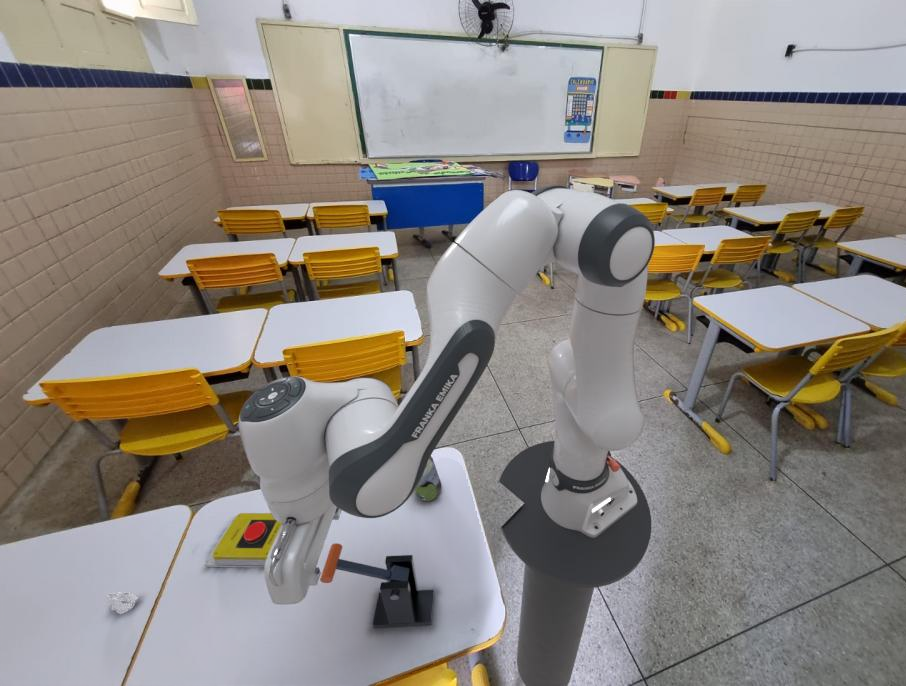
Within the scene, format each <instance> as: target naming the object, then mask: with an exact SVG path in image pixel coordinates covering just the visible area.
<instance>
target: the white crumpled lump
mask: <svg viewBox="0 0 906 686" xmlns="http://www.w3.org/2000/svg"><path fill="white" fill-rule="evenodd" d="M138 599H139V596H137V595H135V594H133V593H132V592H121V591H118V592H111V593H107V595H106V604H112V605H111V608H110V609H111V611H115V612H116V613H117V614H118V615H123V614H126V613H127V612H128V611H130V610H132V609H133V608H134V607H135V604H136V601H137V600H138ZM125 601H127V603H124V602H125Z"/></svg>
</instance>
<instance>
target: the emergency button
mask: <svg viewBox="0 0 906 686" xmlns="http://www.w3.org/2000/svg"><path fill="white" fill-rule="evenodd" d="M281 525H282V523H280V522H278V521H277V520H275V519H274V517H273V516H272V514H271V512H240V513H238V514H237V515H236V516H235V517H234V519H233V520H231V521H230V522H229V523H228V525H227V526H226V528H225V529H224V531H223V532H222V534H221V535H220V537H219V539H218V540H217V542H216V544H215V545H214V546H213V548H212V550H211V552H210V553H209V555H207V558H206V559H205V562H204V564H205V566H206V567H207V568H249V569H250V568H251V569H252V568H259V569H261V568H263V569H264V567H265V562H266V559H267V556H268V553H269V551H270V549H271V547H272V544H273V542H274V540H275V538H276V536H277V534H278V531H279V529H280V527H281Z"/></svg>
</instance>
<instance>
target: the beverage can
mask: <svg viewBox="0 0 906 686" xmlns="http://www.w3.org/2000/svg"><path fill="white" fill-rule="evenodd" d="M441 491H442V481H441V478H440V475H439V473H438V469H437V467H436V464H435V461H434V459H433V455H431V456H430V458H429V460H428V463H427V465H426V468H425V471H424V473H423V476H422V478H421V480H420V482H419V484H418V485H417V487H416V489H415V491H414V493H415V495H416V497H417V498H418V499H419V500H421V501H424V502H428V501H431V500H434V499H436V497H437V496H438V495H439V494H440V493H441Z"/></svg>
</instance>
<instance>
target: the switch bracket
mask: <svg viewBox="0 0 906 686" xmlns="http://www.w3.org/2000/svg"><path fill="white" fill-rule="evenodd" d="M384 563H385V567H386V568H385V569H387V570H391V568H392V567H393V565H396V566H401V567H405V568H409V575H408V581H400V582H387V581H381V582H380V586H379V591H380V592H378V594H377V600H376V604H375V610H374V614H373V615H374V616H373V620H372V628H373V629H383V628H402V627H421V626H432V623H433V622H432V621H433V612H434V600H435V590H434V589H422V590H421V589H419V585H418V580H417V573H416V568H415V562H414V556H413V554H403V555H402V554H401V555H386V556H385V560H384Z"/></svg>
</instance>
